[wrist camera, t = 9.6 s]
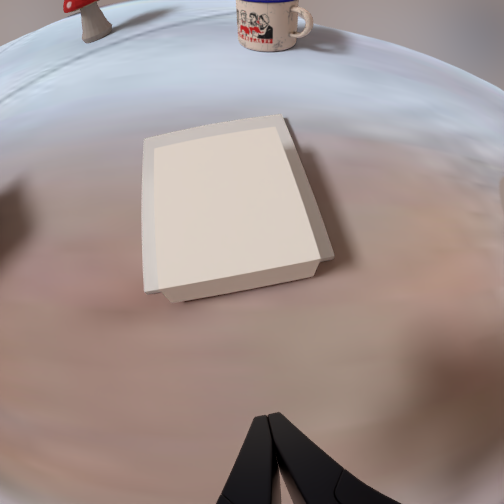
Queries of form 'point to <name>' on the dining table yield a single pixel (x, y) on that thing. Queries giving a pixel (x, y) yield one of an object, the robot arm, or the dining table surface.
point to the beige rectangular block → (228, 216)
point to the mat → (208, 131)
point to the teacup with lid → (270, 24)
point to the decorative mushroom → (89, 19)
